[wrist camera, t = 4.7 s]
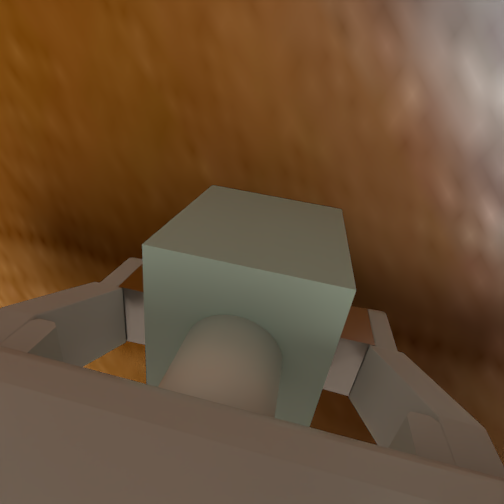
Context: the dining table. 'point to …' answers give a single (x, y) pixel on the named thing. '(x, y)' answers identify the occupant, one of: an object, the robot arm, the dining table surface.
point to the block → (247, 301)
